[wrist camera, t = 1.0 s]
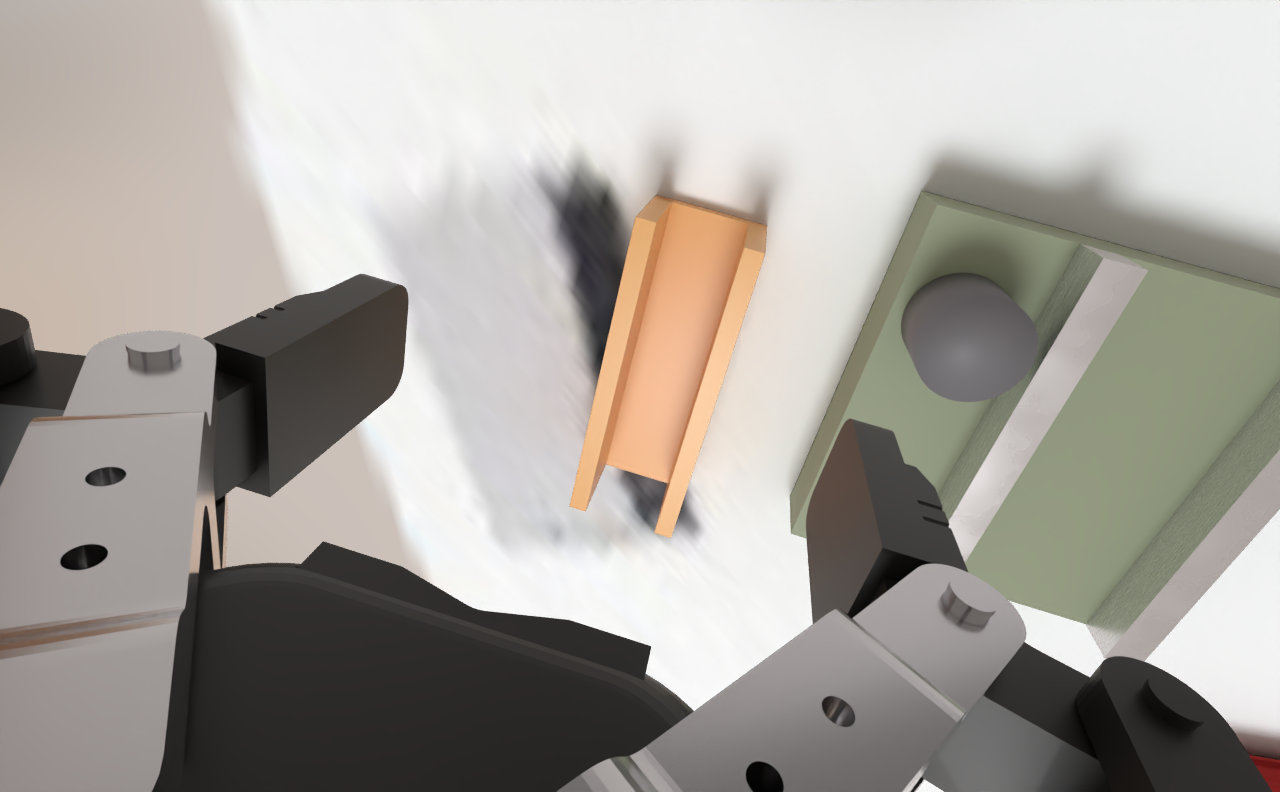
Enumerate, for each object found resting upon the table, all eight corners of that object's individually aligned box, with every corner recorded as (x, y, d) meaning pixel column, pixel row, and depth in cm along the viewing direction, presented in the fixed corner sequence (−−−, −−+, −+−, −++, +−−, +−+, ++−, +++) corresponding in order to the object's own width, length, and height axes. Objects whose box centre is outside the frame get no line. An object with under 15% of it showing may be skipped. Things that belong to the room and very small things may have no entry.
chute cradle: (1079, 243, 24) (1103, 257, 22) (1375, 324, 23) (1424, 346, 22) (897, 566, 31) (904, 596, 30) (1117, 633, 31) (1137, 668, 29)
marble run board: (921, 191, 27) (956, 221, 22) (1321, 300, 26) (1459, 360, 21) (789, 497, 34) (792, 575, 29) (1095, 590, 34) (1155, 688, 28)
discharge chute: (657, 193, 29) (635, 216, 25) (767, 224, 29) (765, 253, 24) (594, 452, 36) (569, 506, 31) (684, 479, 35) (670, 537, 31)
